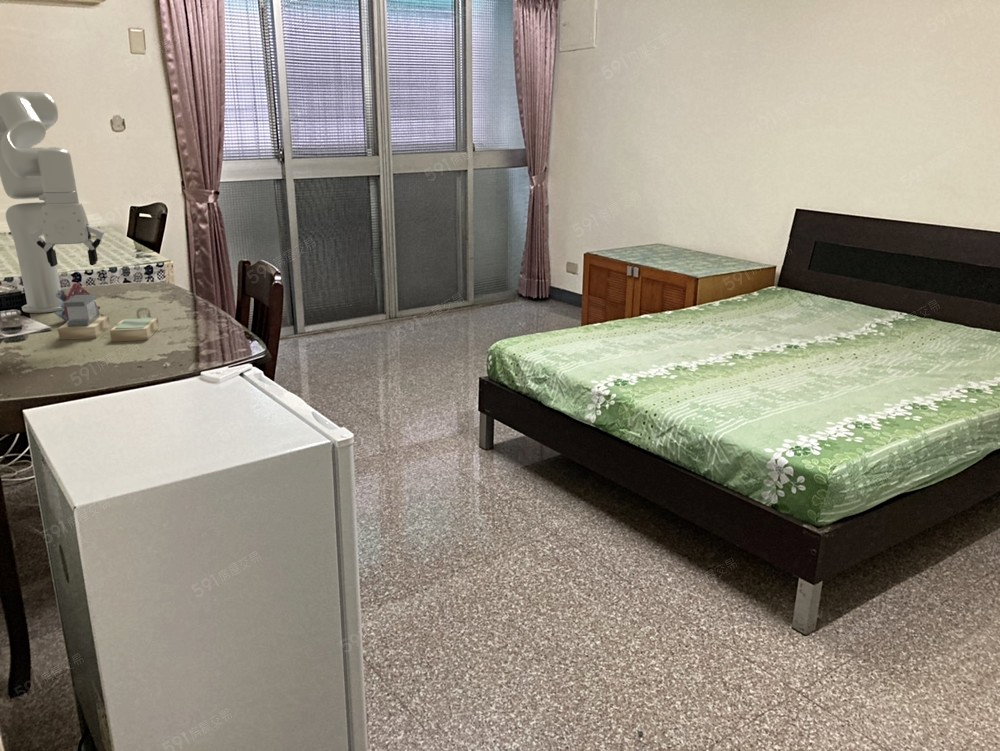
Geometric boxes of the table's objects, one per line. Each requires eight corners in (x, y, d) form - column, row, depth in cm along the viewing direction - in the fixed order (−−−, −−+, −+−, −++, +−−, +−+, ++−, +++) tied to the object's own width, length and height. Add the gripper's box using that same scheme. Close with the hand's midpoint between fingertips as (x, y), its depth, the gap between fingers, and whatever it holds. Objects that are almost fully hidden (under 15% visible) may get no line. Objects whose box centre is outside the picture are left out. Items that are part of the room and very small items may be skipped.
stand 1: (75, 327, 212) (73, 317, 211) (110, 326, 214) (108, 316, 213) (59, 339, 201) (57, 328, 200) (96, 338, 203) (94, 327, 202)
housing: (79, 318, 210) (75, 295, 208) (99, 317, 211) (95, 294, 209) (67, 326, 202) (63, 302, 200) (88, 326, 203) (83, 301, 201)
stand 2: (124, 329, 211) (123, 318, 210) (159, 328, 212) (157, 316, 211) (111, 341, 200) (109, 329, 199) (147, 339, 201) (146, 328, 200)
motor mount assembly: (86, 317, 213) (58, 283, 212) (64, 338, 217) (36, 304, 216) (114, 308, 224) (87, 275, 222) (92, 328, 228) (66, 296, 226)
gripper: (19, 201, 191) (32, 268, 196) (92, 199, 194) (104, 266, 199) (31, 198, 198) (44, 263, 203) (102, 196, 201) (113, 261, 206)
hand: (73, 265), depth 201 cm, fingers open, 9 cm apart
